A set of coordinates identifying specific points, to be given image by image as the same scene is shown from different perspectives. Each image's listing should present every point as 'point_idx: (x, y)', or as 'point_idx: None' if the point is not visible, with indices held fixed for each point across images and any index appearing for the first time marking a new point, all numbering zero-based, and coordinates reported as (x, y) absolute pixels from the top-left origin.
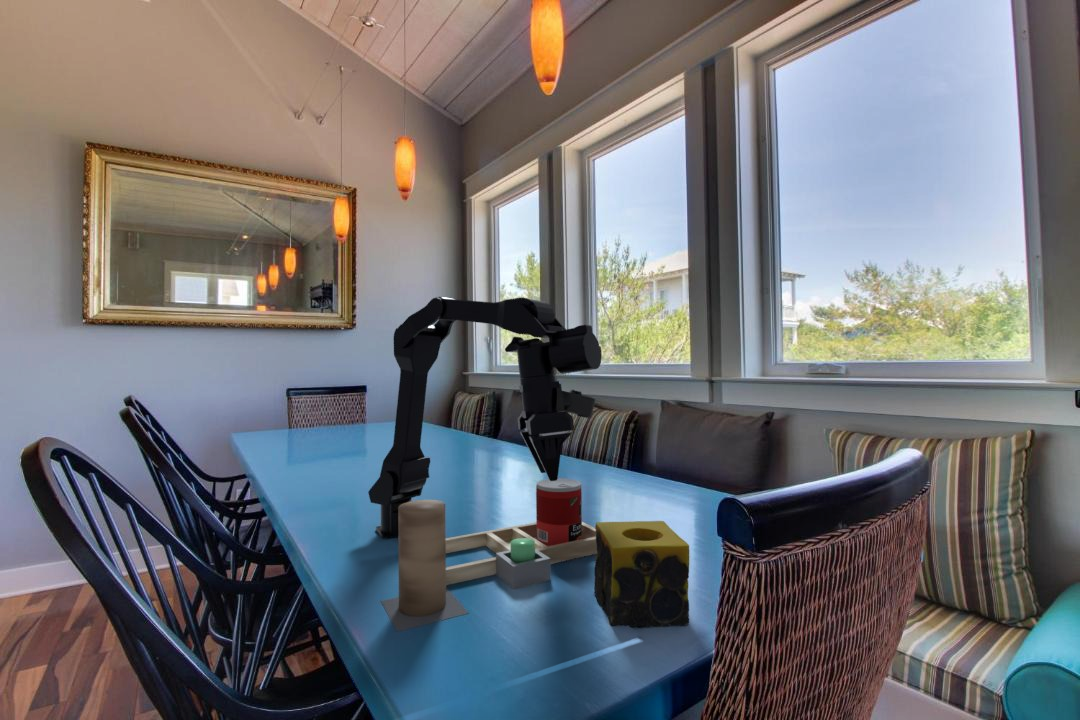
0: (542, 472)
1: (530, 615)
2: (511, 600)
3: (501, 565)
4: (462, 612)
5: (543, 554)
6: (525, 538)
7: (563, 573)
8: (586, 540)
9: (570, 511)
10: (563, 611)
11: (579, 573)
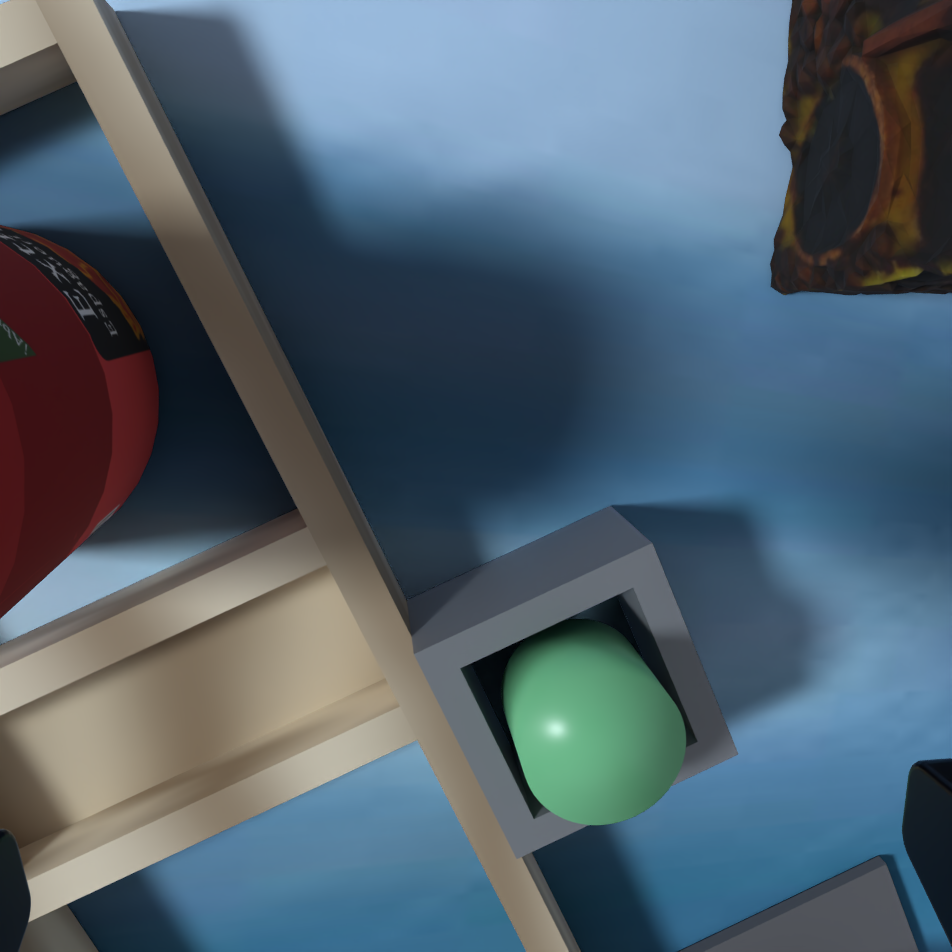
0: (26, 896)
1: (920, 616)
2: (770, 696)
3: None
4: (877, 888)
5: (577, 581)
6: (535, 732)
7: (493, 421)
8: (194, 219)
9: (52, 351)
10: (917, 471)
11: (504, 327)
